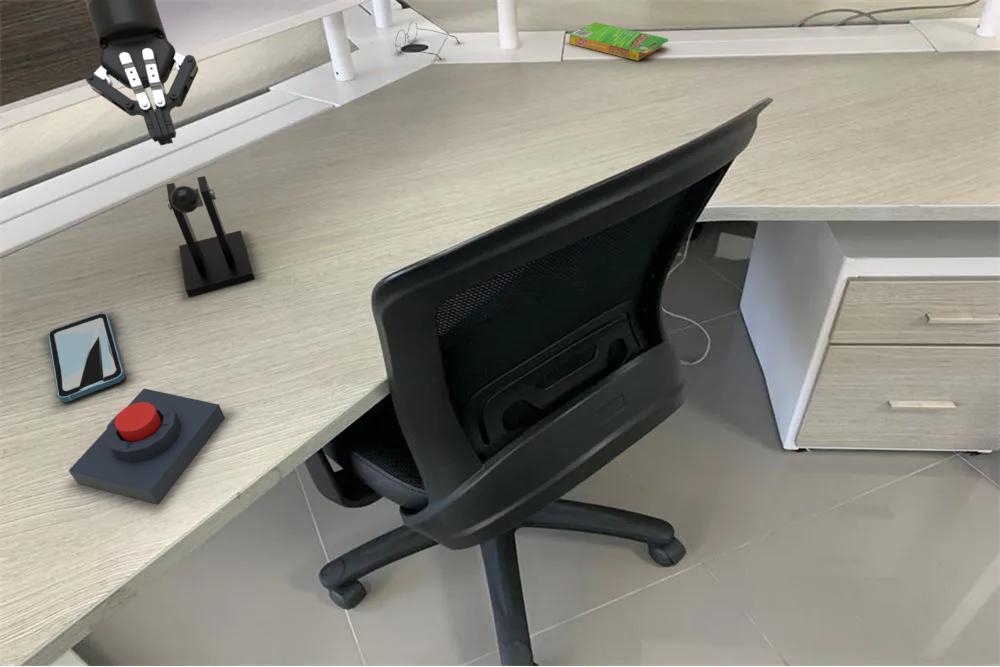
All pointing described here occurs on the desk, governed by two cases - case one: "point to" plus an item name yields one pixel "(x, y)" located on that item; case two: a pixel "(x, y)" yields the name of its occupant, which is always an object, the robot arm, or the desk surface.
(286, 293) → the desk surface
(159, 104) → the robot arm
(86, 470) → the button block
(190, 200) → the switch lever
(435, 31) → the eyeglasses
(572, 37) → the game box
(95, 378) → the smartphone
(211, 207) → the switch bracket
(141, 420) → the button
